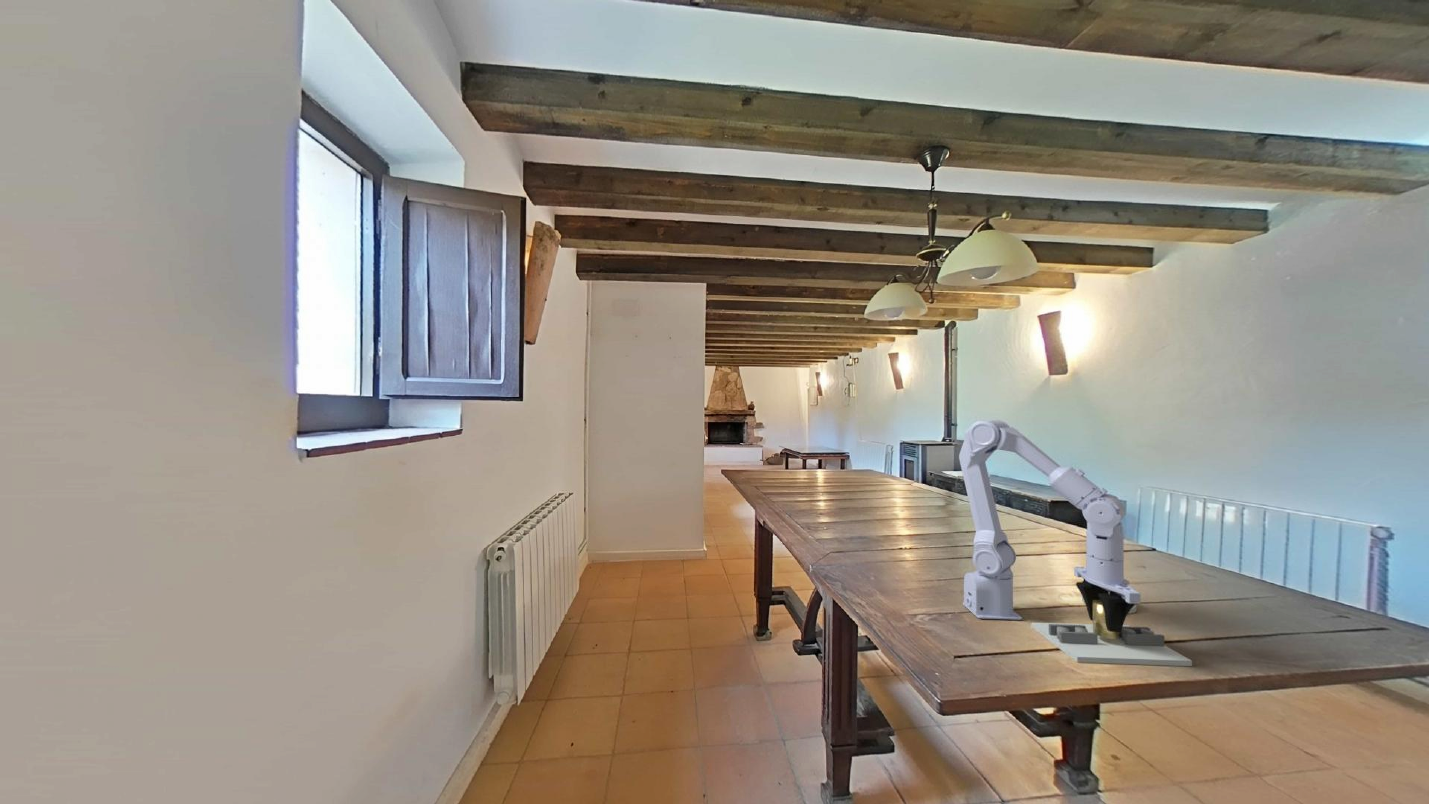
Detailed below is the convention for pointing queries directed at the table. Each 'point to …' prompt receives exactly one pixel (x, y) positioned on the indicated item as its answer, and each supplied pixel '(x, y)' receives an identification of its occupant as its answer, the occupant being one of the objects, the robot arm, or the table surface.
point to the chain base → (1111, 645)
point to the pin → (1101, 622)
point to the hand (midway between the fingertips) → (1105, 625)
